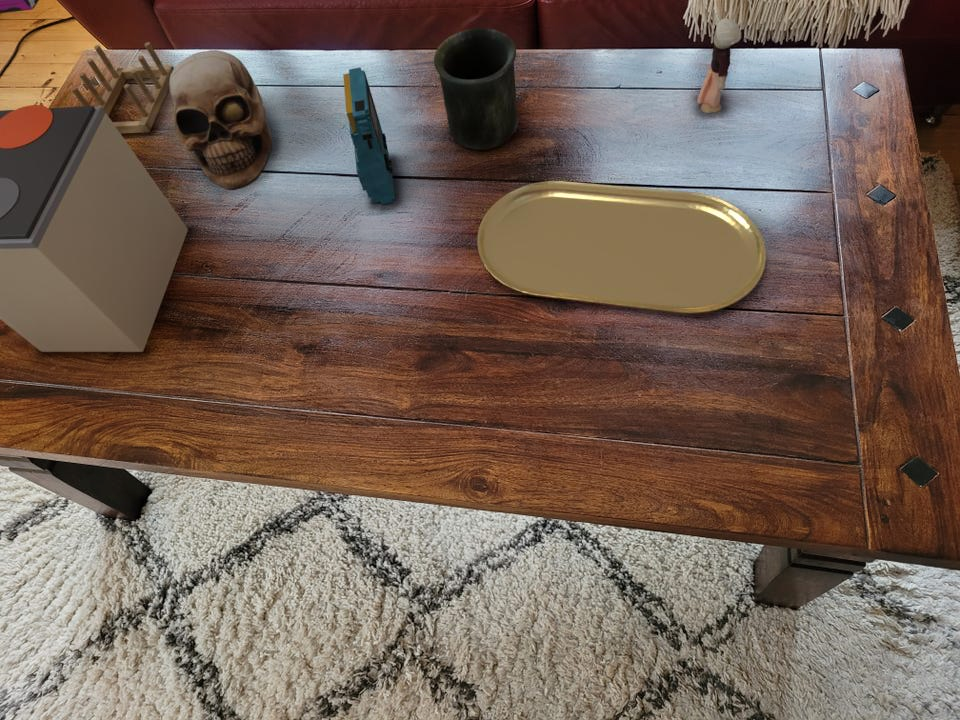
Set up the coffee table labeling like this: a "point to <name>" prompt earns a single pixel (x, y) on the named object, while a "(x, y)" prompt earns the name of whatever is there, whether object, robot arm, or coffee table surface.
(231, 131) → the tan skull
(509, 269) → the serving platter
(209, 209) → the coffee table surface
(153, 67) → the rack
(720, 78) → the grandmother figurine
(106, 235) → the stove
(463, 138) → the mug
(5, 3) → the candy bar box
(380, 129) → the handheld gaming console
